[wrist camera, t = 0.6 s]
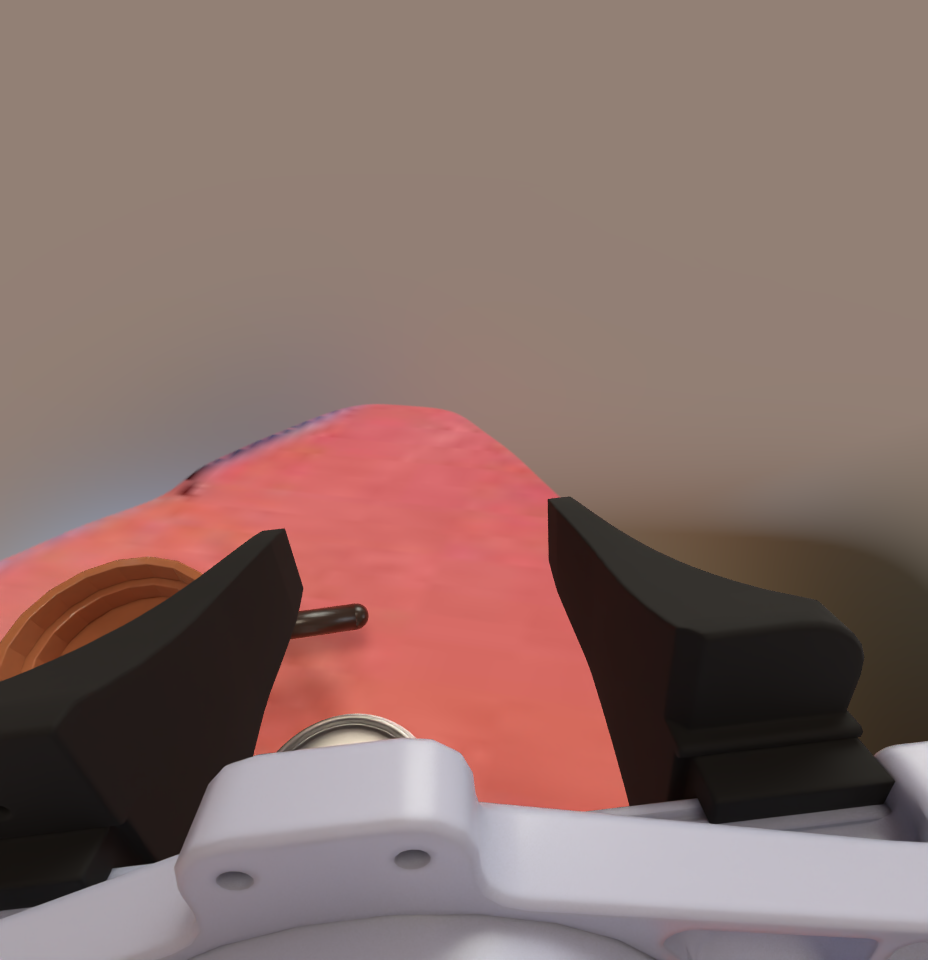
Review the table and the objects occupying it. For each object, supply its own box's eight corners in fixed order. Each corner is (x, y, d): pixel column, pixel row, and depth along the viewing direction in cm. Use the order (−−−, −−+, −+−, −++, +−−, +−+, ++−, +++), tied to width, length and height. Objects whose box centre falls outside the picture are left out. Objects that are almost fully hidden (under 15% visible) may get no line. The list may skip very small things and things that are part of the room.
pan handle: (369, 631, 27) (369, 621, 26) (219, 654, 25) (212, 644, 24) (367, 608, 28) (367, 597, 27) (221, 628, 26) (214, 618, 25)
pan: (230, 752, 24) (211, 736, 22) (-5, 798, 22) (-60, 787, 19) (244, 577, 30) (231, 547, 28) (61, 598, 28) (26, 568, 25)
